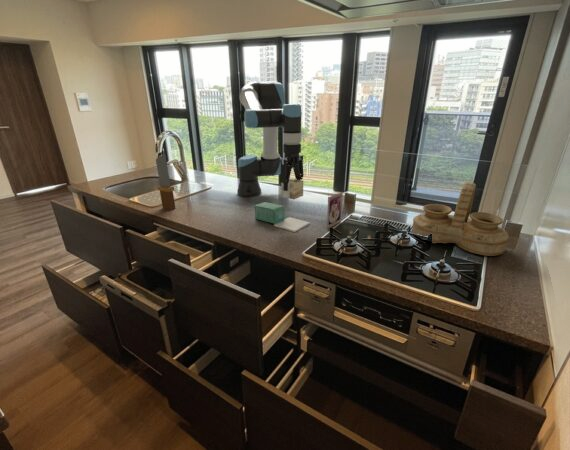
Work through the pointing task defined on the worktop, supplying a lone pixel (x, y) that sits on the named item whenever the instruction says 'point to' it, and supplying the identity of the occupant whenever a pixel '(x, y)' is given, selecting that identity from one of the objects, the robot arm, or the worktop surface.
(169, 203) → the knife
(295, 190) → the letter cube
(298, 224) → the tile
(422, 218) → the ceramic vessel
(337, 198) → the greeting card
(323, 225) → the worktop surface
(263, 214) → the box
